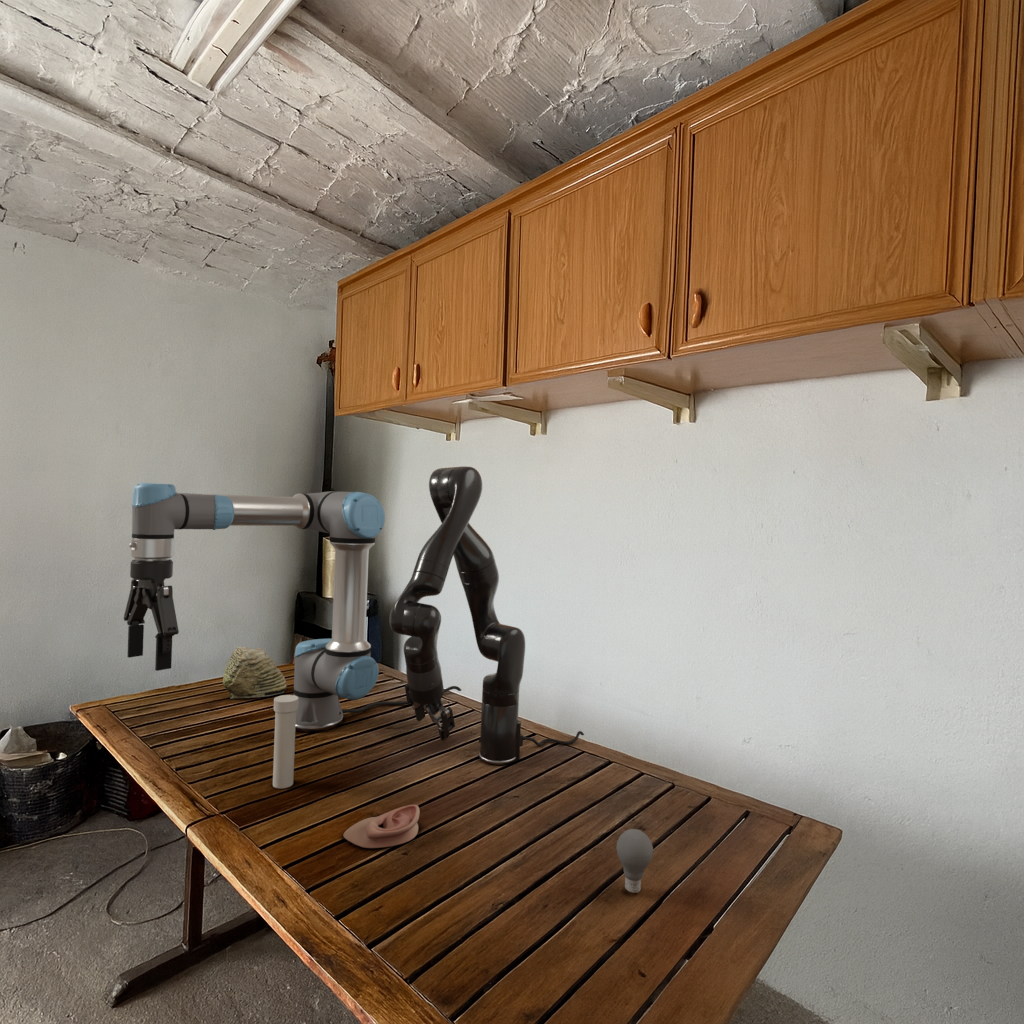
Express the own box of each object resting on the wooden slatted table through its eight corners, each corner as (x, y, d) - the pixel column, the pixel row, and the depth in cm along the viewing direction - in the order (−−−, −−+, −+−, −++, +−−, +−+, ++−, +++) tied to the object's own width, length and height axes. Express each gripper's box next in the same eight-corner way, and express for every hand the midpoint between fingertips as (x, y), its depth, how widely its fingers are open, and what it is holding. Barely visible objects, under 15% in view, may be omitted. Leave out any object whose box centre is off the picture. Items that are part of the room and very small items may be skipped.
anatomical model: (336, 822, 116) (363, 794, 127) (335, 843, 116) (362, 813, 127) (404, 832, 113) (426, 803, 124) (403, 854, 113) (425, 823, 124)
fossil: (218, 695, 195) (220, 647, 195) (278, 685, 208) (279, 640, 207) (228, 703, 189) (230, 653, 188) (289, 692, 201) (290, 645, 201)
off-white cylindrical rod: (287, 789, 136) (290, 704, 136) (269, 787, 137) (272, 702, 137) (296, 780, 141) (299, 698, 140) (278, 779, 141) (281, 696, 141)
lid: (291, 713, 136) (291, 702, 136) (269, 711, 136) (269, 701, 136) (301, 706, 141) (302, 695, 141) (280, 704, 141) (280, 694, 141)
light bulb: (610, 879, 108) (613, 822, 108) (644, 879, 109) (647, 822, 109) (619, 902, 102) (622, 840, 102) (655, 901, 103) (658, 840, 103)
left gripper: (108, 554, 134) (104, 654, 134) (159, 565, 118) (155, 678, 119) (146, 552, 140) (143, 648, 140) (199, 563, 124) (195, 671, 124)
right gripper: (459, 683, 137) (465, 734, 145) (417, 653, 146) (425, 703, 154) (432, 703, 133) (440, 755, 141) (391, 671, 141) (401, 721, 150)
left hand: (148, 662), depth 129 cm, fingers open, 13 cm apart
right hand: (432, 728), depth 147 cm, fingers open, 8 cm apart
